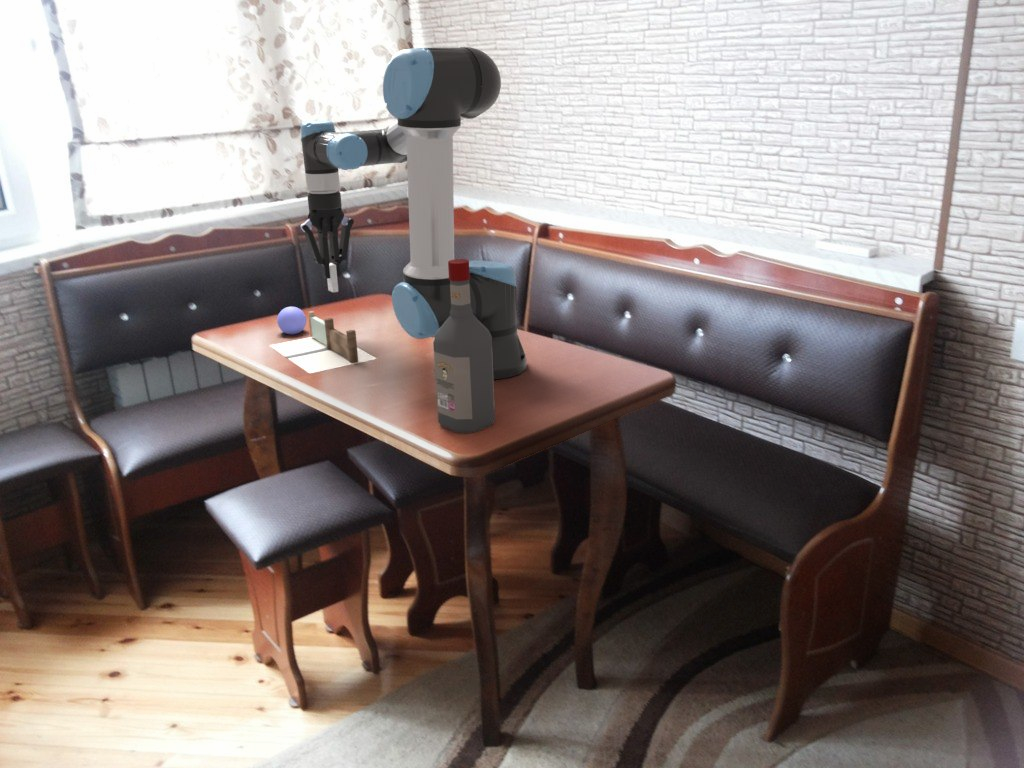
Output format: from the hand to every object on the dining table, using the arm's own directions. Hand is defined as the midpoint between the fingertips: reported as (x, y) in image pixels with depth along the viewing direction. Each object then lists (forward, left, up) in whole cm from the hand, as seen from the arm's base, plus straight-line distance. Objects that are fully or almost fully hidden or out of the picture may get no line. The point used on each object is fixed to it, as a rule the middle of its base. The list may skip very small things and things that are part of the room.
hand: (333, 290), depth 208 cm
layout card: (-9, +8, -12) cm, 17 cm away
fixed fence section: (-14, +5, -12) cm, 19 cm away
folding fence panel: (-1, +5, -11) cm, 12 cm away
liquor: (-66, +3, -12) cm, 67 cm away
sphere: (+11, +7, -12) cm, 18 cm away
